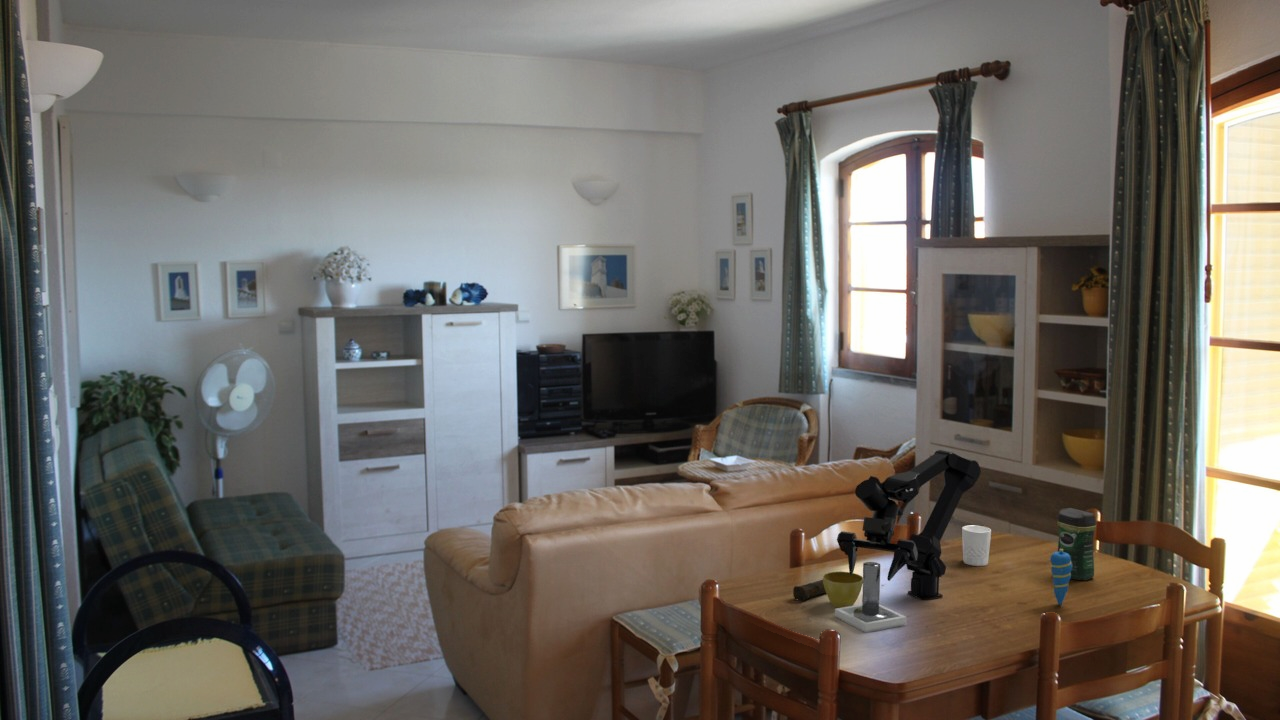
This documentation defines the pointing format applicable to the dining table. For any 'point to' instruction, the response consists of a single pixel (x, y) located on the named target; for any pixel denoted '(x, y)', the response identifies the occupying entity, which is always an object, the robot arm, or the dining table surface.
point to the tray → (891, 621)
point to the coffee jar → (1077, 540)
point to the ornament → (1061, 573)
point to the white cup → (976, 544)
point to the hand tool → (808, 590)
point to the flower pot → (842, 588)
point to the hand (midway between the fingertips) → (869, 576)
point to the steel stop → (870, 594)
